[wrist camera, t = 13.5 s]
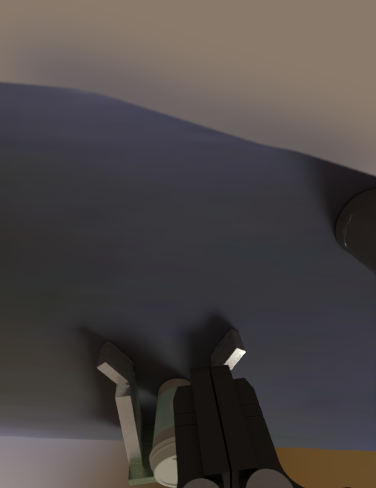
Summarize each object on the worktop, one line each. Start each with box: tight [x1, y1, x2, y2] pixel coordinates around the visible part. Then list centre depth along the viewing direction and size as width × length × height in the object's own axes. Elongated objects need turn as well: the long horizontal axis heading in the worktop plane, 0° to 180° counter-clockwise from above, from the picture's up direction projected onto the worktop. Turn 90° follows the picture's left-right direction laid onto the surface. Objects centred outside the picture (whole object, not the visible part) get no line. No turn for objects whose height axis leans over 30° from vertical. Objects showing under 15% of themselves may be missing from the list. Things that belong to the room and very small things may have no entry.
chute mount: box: [97, 329, 246, 486], centre depth 45 cm, size 20×21×8 cm
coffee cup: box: [149, 378, 191, 488], centre depth 44 cm, size 9×8×12 cm
